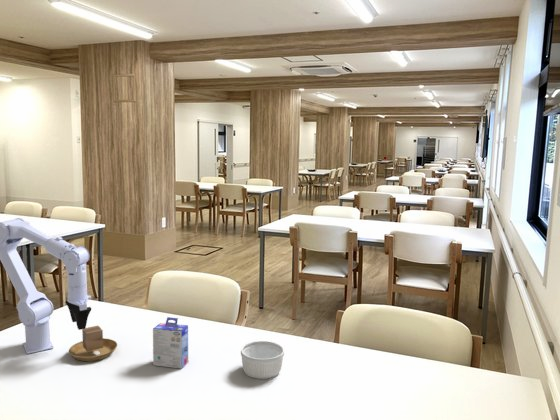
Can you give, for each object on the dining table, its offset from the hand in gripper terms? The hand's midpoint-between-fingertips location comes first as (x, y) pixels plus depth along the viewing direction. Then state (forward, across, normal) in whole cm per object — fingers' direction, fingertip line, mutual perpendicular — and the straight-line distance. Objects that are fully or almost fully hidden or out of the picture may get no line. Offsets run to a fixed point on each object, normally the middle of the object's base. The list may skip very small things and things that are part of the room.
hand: (78, 325), depth 153 cm
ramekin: (+9, -45, -42) cm, 62 cm away
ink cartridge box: (+9, -24, -22) cm, 34 cm away
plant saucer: (+10, -4, -4) cm, 11 cm away
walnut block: (+7, -3, -3) cm, 9 cm away
